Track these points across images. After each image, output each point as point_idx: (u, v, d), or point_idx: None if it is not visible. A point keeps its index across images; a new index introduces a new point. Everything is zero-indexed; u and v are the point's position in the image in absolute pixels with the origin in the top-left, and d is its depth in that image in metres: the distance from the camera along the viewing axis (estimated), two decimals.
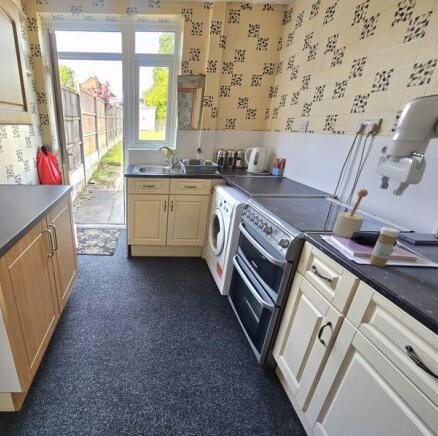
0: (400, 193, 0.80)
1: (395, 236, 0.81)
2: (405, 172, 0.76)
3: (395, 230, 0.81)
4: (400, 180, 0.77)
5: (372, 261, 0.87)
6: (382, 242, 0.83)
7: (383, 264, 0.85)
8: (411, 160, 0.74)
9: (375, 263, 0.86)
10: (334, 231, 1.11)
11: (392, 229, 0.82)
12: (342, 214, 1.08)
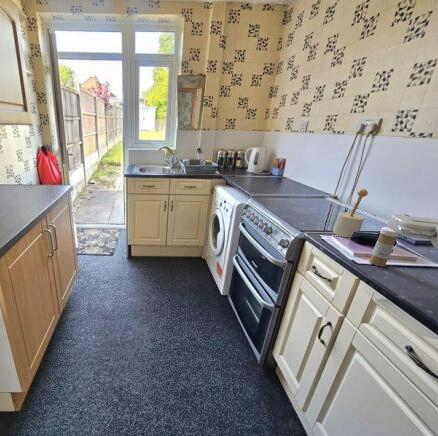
0: None
1: (395, 236, 0.81)
2: (405, 218, 0.64)
3: None
4: (403, 215, 0.66)
5: (372, 261, 0.87)
6: (382, 242, 0.83)
7: (383, 264, 0.85)
8: (411, 223, 0.61)
9: (375, 263, 0.86)
10: (334, 231, 1.11)
11: None
12: (342, 214, 1.08)
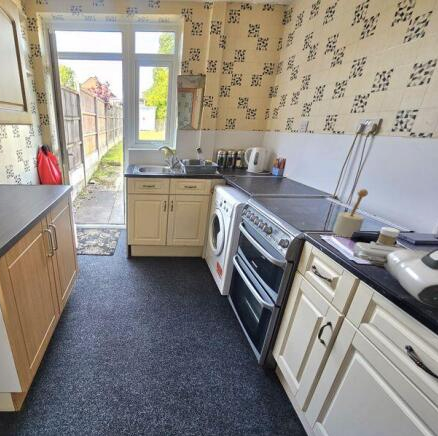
0: None
1: (395, 236, 0.81)
2: (365, 245, 0.81)
3: (395, 230, 0.81)
4: (365, 243, 0.83)
5: None
6: (382, 242, 0.83)
7: (383, 264, 0.85)
8: (369, 251, 0.77)
9: (375, 263, 0.86)
10: (334, 231, 1.11)
11: (392, 229, 0.82)
12: (342, 214, 1.08)
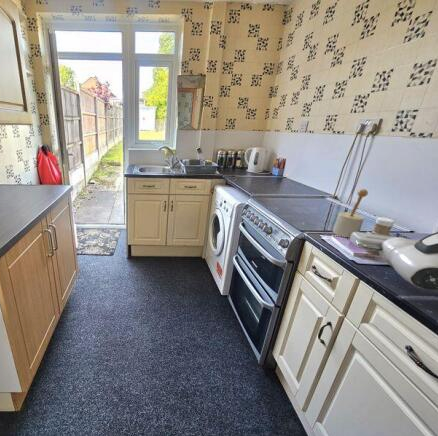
0: None
1: (390, 226, 0.84)
2: (361, 235, 0.84)
3: (390, 220, 0.85)
4: None
5: (368, 250, 0.90)
6: (378, 231, 0.87)
7: (378, 253, 0.88)
8: (365, 239, 0.81)
9: (371, 252, 0.89)
10: (334, 231, 1.11)
11: (387, 219, 0.86)
12: (342, 214, 1.08)
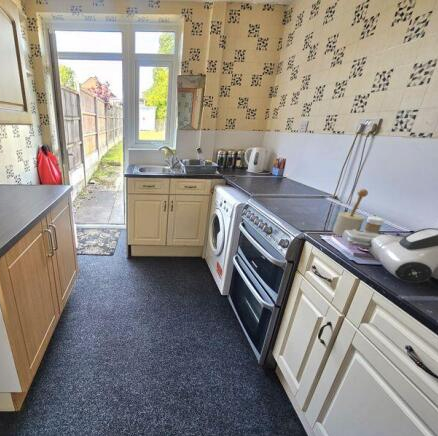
0: None
1: (379, 224, 0.90)
2: (353, 232, 0.90)
3: (379, 219, 0.91)
4: (353, 230, 0.92)
5: None
6: (368, 230, 0.93)
7: None
8: (355, 237, 0.87)
9: None
10: (334, 231, 1.11)
11: (377, 218, 0.92)
12: (342, 214, 1.08)
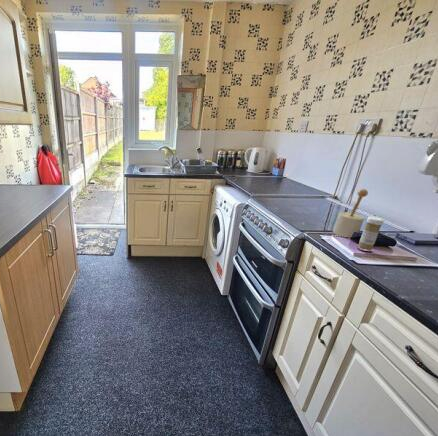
0: (435, 190, 0.66)
1: (379, 224, 0.90)
2: None
3: (379, 219, 0.91)
4: None
5: None
6: (368, 230, 0.93)
7: None
8: None
9: None
10: (334, 231, 1.11)
11: (377, 218, 0.92)
12: (342, 214, 1.08)
